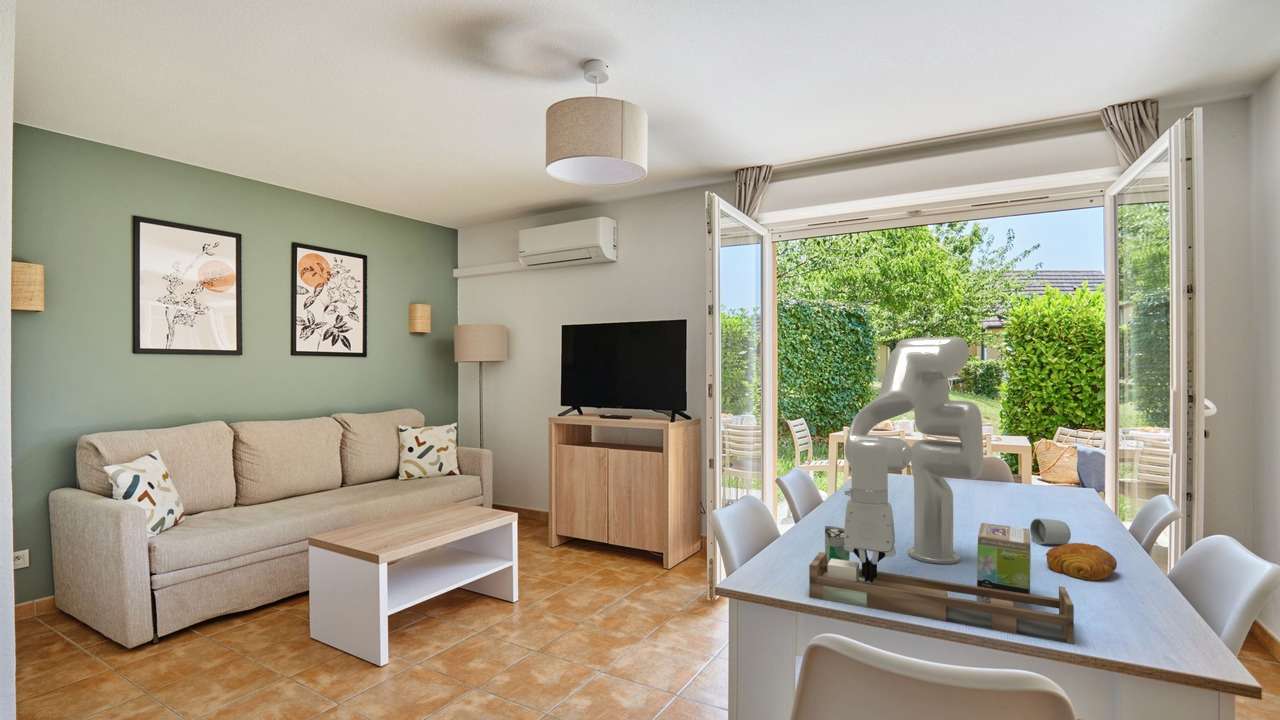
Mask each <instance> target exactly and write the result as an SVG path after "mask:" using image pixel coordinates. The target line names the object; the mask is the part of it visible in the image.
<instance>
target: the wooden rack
mask: <svg viewBox="0 0 1280 720" xmlns="http://www.w3.org/2000/svg"><path fill="white" fill-rule="evenodd" d="M808 569H809V571H808V572H809V573H808V574H809V575H808V579H809V580H808V582H809V585H808V586H809V587H808V589H809V592H808V593H809V595H808V596H809V597H808V598H813V599H818V600H824V601H825V600H826V601H832V602H836V603H842V604H848V605H854V606H858V607H863V608H869V609H870V608H871V609H874V610H875V609H876V610H882V611H887V612H891V613H892V612H893V613H898V614H904V615H910V616H915V617H920V618H926V619H932V620H938V621H944V622H949V623H955V624H960V625H966V626H971V627H977V628H983V629H988V630H994V631H1001V632H1005V633H1009V634H1010V633H1011V634H1015V635H1022V636H1026V637H1033V638H1039V639H1043V640H1044V639H1045V640H1049V641H1053V642H1054V641H1055V642H1060V643H1061V642H1062V643H1066V644H1072V645H1074V644H1075V623H1074V622H1075V621H1074V620H1075V618H1074V617H1075V616H1074V615H1075V614H1074V613H1075V609H1074V608H1075V607H1074V604H1073V601H1072V599H1071V597H1070V594H1069V593H1068V591H1067V589H1066V587H1065V586H1060V585H1058V598H1057V597H1050V596H1043V595H1036V594H1031V593H1030V594H1024V593H1018V592H1011V591H1004V590H998V589H991V588H984V587H978V586H977V585H970V584H964V583H957V582H950V581H944V580H938V579H930V578H925V577H924V578H923V577H916V576H910V575H904V574H897V573H890V572H884V571H878V570H877V578H874V580H873V582H870V581H867V582H866V581H865V576H862V568H859V581H858V582H855V581H849V580H843V579H836V578H830V577H828V564H826V553H825V552H821V551H820V552H819V553H818V554H817V555H815V558H814V559H813V560H812V561H811V562H810V564H809V567H808ZM948 592H949V593H950V592H952V593H957V594H962V595H963V594H964V595H970V596H976V597H977V596H982V597H988V598H990V603H986V602H980V601H977V600H973V599H967V598H960V597H954V596H948ZM1013 601H1014V602H1020V603H1026V604H1030V605H1034V606H1041V607H1047V608H1051V609H1052V608H1053V609H1058V613H1053V612H1047V611H1041V610H1035V609H1030V610H1029V609H1023V608H1017V607H1014V605H1013Z"/></svg>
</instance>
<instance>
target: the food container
mask: <svg viewBox="0 0 1280 720" xmlns="http://www.w3.org/2000/svg"><path fill="white" fill-rule="evenodd" d="M844 544H845V543H844V528H842V527H839V526H832V525H824V550H825V552H824V553H826V564H828V563H829V561H830V560H831V558H832V559H839V560H846V561H850V556H851V555H850V553H851V552H850V551H847V550H845V549H844Z"/></svg>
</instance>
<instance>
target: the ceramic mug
mask: <svg viewBox="0 0 1280 720" xmlns="http://www.w3.org/2000/svg"><path fill="white" fill-rule="evenodd" d="M1029 526H1030V527H1029V532H1030V538H1031V539H1032V540H1033V541H1034V543H1035V544H1037V545H1039V546H1040V545H1044V546H1045V545H1048V546H1049V545H1051V546H1053V545H1057V546H1061V545H1064V544H1069V541H1070V539H1071V536H1072V535H1071V534H1072V533H1071V529H1070V527H1069V525H1068V524H1067V523H1066V522H1065V521H1063V520H1059V519H1050V518H1049V519H1048V518H1047V519H1046V518H1039V517H1038V518H1037V517H1036V518H1034V519H1033V520H1032V521H1031V523H1030V525H1029Z"/></svg>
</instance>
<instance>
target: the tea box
mask: <svg viewBox="0 0 1280 720" xmlns="http://www.w3.org/2000/svg"><path fill="white" fill-rule="evenodd" d="M1031 553H1032V552H1031V533H1030V528H1025V527H1018V526H1009V525H1001V524H994V523H988V522H987V523H984V522H981V523H980V527H979V532H978V536H977V556H976V557H977V558H976V559H977V564H976V565H977V567H976V568H977V569H976V570H977V571H976V572H977V573H976V574H977V575H976V586H978V587H984V588H991V589H998V590H1004V591H1011V592H1018V593H1024V594H1031V567H1032V565H1031V563H1032V562H1031V557H1032V556H1031V555H1032V554H1031ZM976 601H980V602H986V603H990V598H988V597H982V596H976ZM1013 605H1014V607H1017V608H1023V609H1029V610H1031V609H1030V606H1031V604H1026V603H1020V602H1014V601H1013Z"/></svg>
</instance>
